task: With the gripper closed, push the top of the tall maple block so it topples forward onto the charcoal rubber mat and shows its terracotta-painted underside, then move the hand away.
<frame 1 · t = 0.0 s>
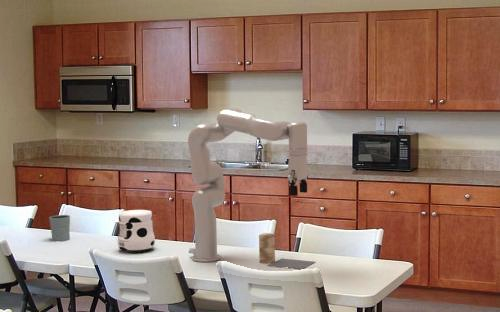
hand: (298, 194, 310), 31 cm above the table, tool pointing down, fingers open, 9 cm apart
charcoal mat: (291, 264, 321), on the table
grey cup: (60, 240, 383), on the table
milk container: (136, 250, 355), on the table
maple block: (267, 261, 326), on the table
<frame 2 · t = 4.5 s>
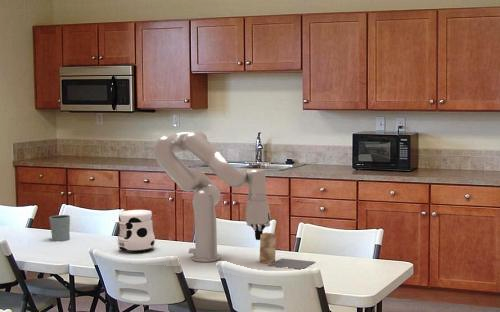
hand: (259, 239, 327), 9 cm above the table, tool pointing down, fingers closed
maple block: (267, 261, 326), on the table, touching gripper
everything else where it was.
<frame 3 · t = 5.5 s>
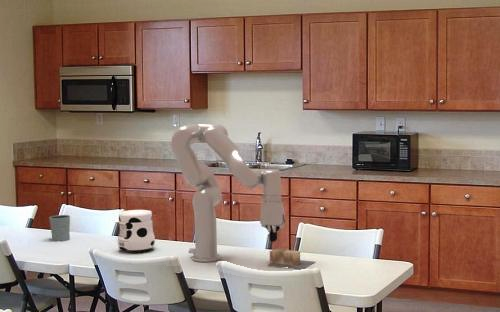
hand: (273, 240, 324), 9 cm above the table, tool pointing down, fingers closed
maple block: (272, 255, 325), point 3 cm above the table, tilted 90°, touching charcoal mat
everything else where it was.
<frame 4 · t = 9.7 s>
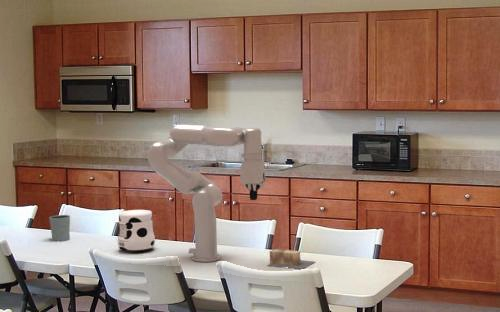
hand: (253, 199, 324), 27 cm above the table, tool pointing down, fingers closed
nothing on the table moved.
at the end: maple block tilted 90°; maple block touching charcoal mat; maple block inside the target area (2.0 cm from its centre), point 2.8 cm above the table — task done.
